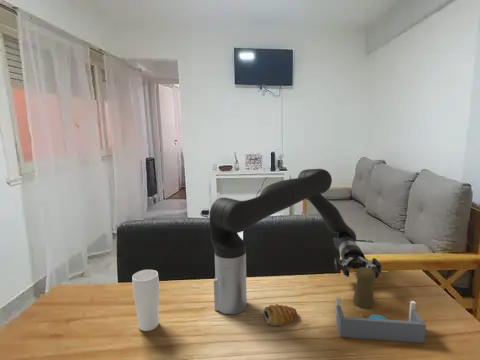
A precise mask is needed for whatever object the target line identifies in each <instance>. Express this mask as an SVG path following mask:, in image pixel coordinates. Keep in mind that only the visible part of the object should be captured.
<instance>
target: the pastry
mask: <svg viewBox="0 0 480 360" xmlns="http://www.w3.org/2000/svg"><path fill="white" fill-rule="evenodd" d="M263 315H264V320H266V323H267V324H268V325H270V326H272V327H278V326H282V327H283V326H285V325H288V324H290V323H293V322H295V321H296V320H297V319H298V312H297V310H296V308H294V307H292V306H288V305H283V304H278V303H277V304H276V303H275V305H274V304H269V305H268V306H265V308H263Z"/></svg>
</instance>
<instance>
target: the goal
mask: <svg viewBox="0 0 480 360" xmlns="http://www.w3.org/2000/svg"><path fill="white" fill-rule="evenodd" d="M341 300H342V298H341V297H340V296H336V297H335V302H336V303H335V323H336V327H337V331H338V334H339V337H340V338H352V339H363V340H365V339H366V340H377V341H378V340H379V341H392V342H393V341H394V342H405V343H417V344H418V343H419V344H424V343H425V339H426V327H427V324H426V323H425V322H424V320H423V319H422V317H421V315H420V314H419V313H418V312H417V311H416V308H417V306H416V305H417V302H415V301H414V300H410V301H409V312H408V313H409V314H408V320H398V319H388V320H385V319H370V318H369V317H368V318H367V317H351V316H345V315H344V313H343V309H342V306H341V303H342V301H341Z"/></svg>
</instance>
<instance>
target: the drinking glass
mask: <svg viewBox="0 0 480 360" xmlns="http://www.w3.org/2000/svg"><path fill="white" fill-rule="evenodd" d="M131 278H132V279H131V280H132V281H131V282H132V294H133V295H132V296H133V299H134V304H135V311H136V317H137V323H138V325H137V326H138V329H139V330H141V331H143V332H151V331H153V330H155V329H156V328H158V326H159V324H160V322H159V320H160V319H159V318H160V317H159V315H160V314H159V309H160V308H159V307H160V304H159V303H160V279H159V272H158V271H157V270H154V269H142V270H139V271H137V272H135V273H134V274H132V277H131Z"/></svg>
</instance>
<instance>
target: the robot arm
mask: <svg viewBox="0 0 480 360" xmlns="http://www.w3.org/2000/svg"><path fill="white" fill-rule="evenodd" d="M332 181H333V178H332V175H331V174H330V172H329V171H327V170H326V169H324V168H310V169H309V168H308V169H303V170H301V171H300V172H299V174H298V175H297V177H296V178H288V179H284V180H279V181H276V182H273V183H271V184H269V185H267V186H265V187H264V188H263V189H262V191H261V192H260V194H259V195H258V196H256V197H252V198H250V199H246V200H239V199H234V198H229V197H219V198H217V199H215V200H214V202H213V203H212V205H211V207H210V211H209V227H210V228H209V229H210V240H211V244H212V247H213V248H214V249H213V251H214V270H215V271H214V272H215V273H214V275H215V276H214V279H213V299H214V301H213V302H214V311H218V312H220V313H221V314H224V315H238V314H240V313H242V312H244V311H245V310H246V309H247V306H248V305H247V303H248V299H247V252H246V251H247V249H246V243H245V241H244V239H242V237H240V235H239V234H238V233H242V232H244V231H246V230H248V229H249V228H251V227H253V226H254V225H255V224H257V223H259V222H260V221H262V220H264V219H266V218H268V217H270V216H272V215H274V214H276V213H279V212H281V211H284V210H286V209H289V208H290V207H293V206H294V205H295V204H298V203H300V202H302V201H304V200H309V201H308V202H310V203H311V205H312V206H313V207H314V208H315V209H316V211H317V212H318V213H319V214H320V216H321V219H322V220H323V222H324V223H325V226H326V227H327V229H328V231H329V232H330V233H336V232H339V238H336V237H334V238H333V241H334V245H335V247H336V248H337V249H338V250H337V249H336V248H335V247H334V248H335V249H336V250H337V251H338V252H339V256H340V258H339V256H335V257H334V267H335V270H336V271H337V272H340V271H342V273H343V275H344V276H345V277H346V278H349V277H350V271H351V270H354V269H355V270H358V268H360V267H367V268H370V269H371V270H373V271H374V273H375V278H374V279H378V277H380V273H382V264H381V263H380V262H379V260H378V259H377V258H375V257H374V258H372V259H370V260H369V259H368V258H366V256H365V254H364V252H363V251H362V249H361V248H360V246H359V244H357V243H356V240H357V234H356V233H355V231H354V230H353V229H352V228H351V227H350V226H349V225H348V224H347V223H346V222H345V220H344V218H343V216H342V215H341V213H340V211H339V210H338V208H337V207H336V206H335V205H334V204H333V203H331V202H330V201H329V200H328V199H327V198H325V197H324V195H322V194H324V193H326V192H327V191H329V190H330V188H331V186H332Z"/></svg>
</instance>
